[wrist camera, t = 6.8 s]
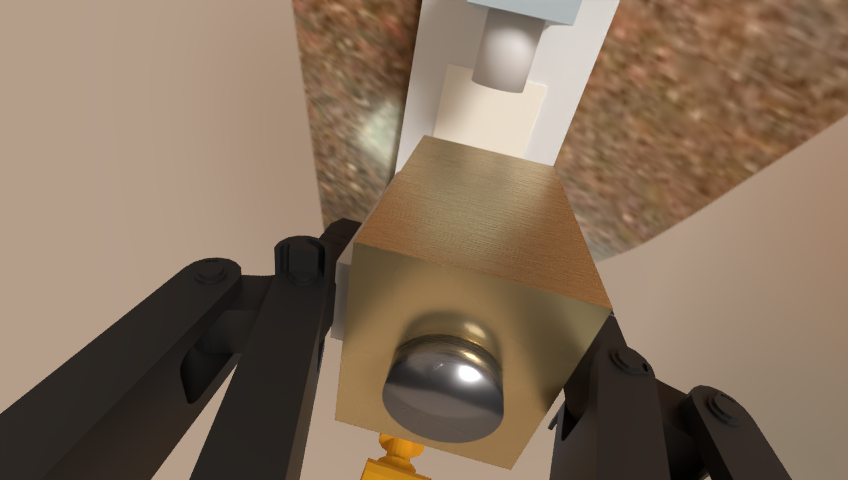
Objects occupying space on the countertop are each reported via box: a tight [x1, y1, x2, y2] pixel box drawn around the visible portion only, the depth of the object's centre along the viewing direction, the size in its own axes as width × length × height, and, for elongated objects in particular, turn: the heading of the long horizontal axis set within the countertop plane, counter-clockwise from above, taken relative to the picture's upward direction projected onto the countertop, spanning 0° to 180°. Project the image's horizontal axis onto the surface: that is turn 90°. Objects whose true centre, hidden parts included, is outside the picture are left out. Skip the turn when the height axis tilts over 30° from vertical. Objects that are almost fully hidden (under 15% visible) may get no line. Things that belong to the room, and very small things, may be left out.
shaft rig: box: [395, 0, 620, 175], centre depth 24 cm, size 24×12×9 cm, turn 169°
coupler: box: [335, 135, 613, 470], centre depth 11 cm, size 5×6×9 cm
